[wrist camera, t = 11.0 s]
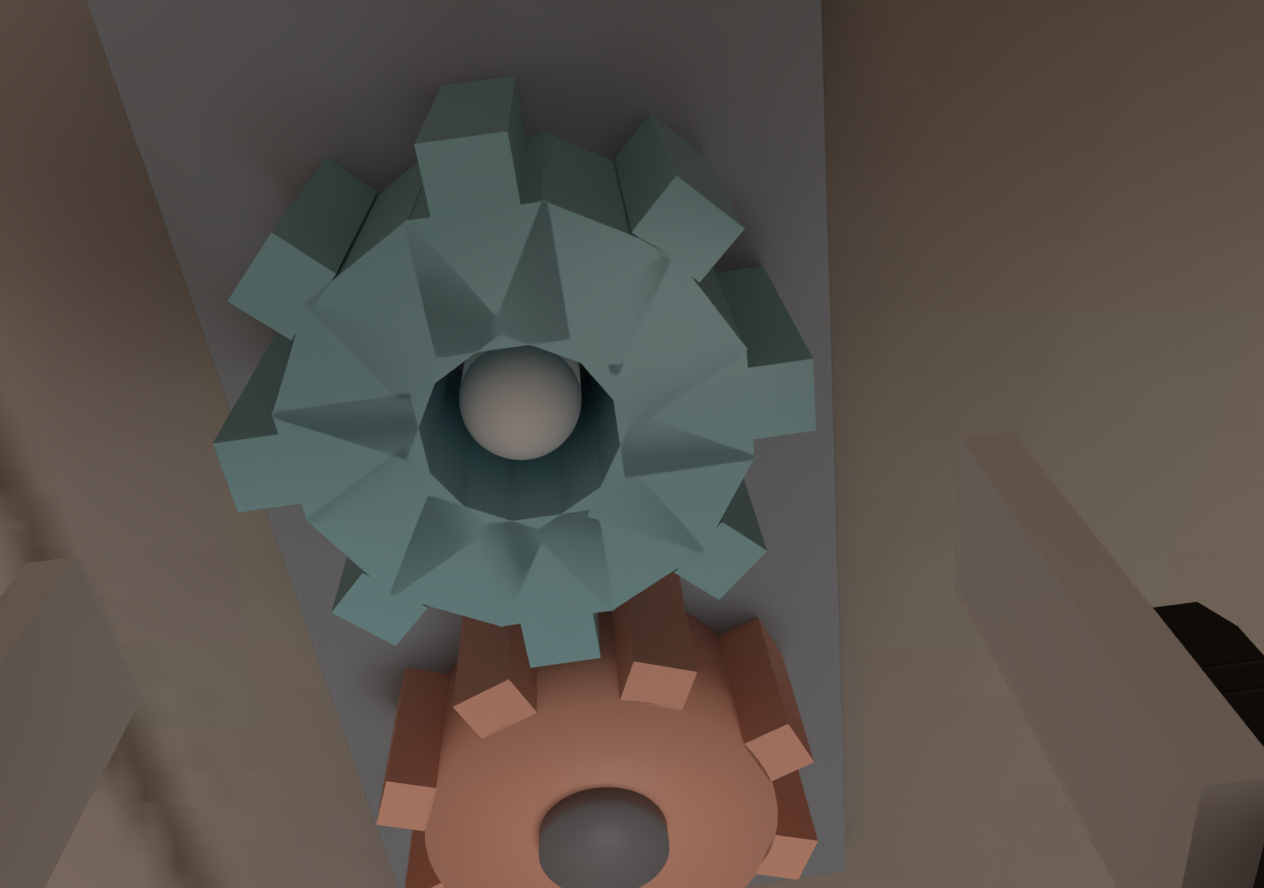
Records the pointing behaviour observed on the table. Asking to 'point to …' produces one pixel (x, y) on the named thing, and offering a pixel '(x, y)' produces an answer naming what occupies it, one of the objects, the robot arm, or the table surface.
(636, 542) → the teal gear
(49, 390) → the table surface
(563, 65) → the gear board
